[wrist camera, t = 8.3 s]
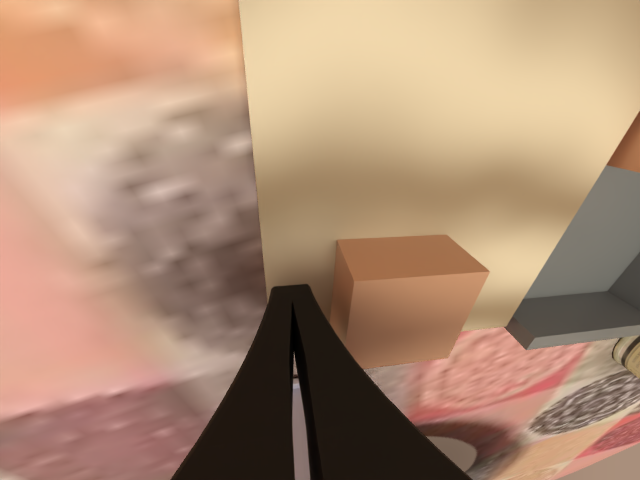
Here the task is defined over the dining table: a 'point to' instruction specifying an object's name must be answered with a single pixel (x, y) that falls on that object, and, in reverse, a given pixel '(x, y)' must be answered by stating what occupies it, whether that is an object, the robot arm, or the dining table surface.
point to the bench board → (433, 128)
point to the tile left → (402, 297)
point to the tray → (589, 272)
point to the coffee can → (628, 354)
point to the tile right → (628, 149)
